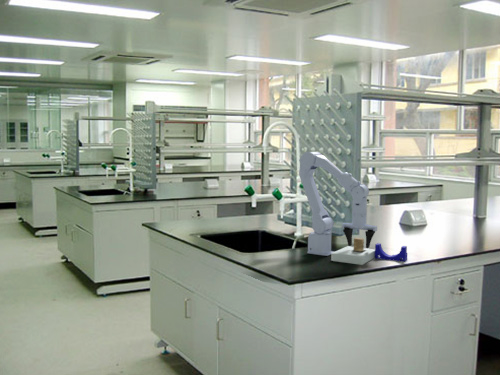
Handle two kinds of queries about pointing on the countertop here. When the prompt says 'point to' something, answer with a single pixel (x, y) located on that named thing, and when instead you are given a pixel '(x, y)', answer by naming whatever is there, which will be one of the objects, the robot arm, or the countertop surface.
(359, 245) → the oak peg
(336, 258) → the hole board
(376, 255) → the blue cradle bracket
